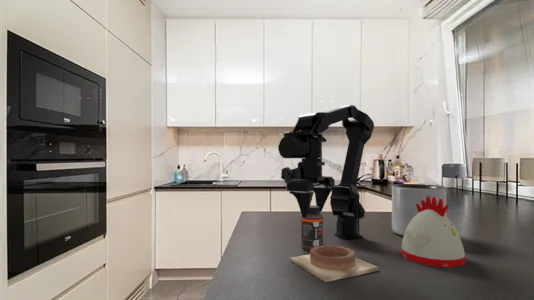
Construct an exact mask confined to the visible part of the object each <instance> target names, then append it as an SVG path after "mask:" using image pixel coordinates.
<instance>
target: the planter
mask: <svg viewBox="0 0 534 300" xmlns="http://www.w3.org/2000/svg"><path fill="white" fill-rule="evenodd" d="M428 196H430V200H431V203H432V197H435V198H436V202H437V206H438V202H439V199H443V208H444V207H445V206H446V205H448V204H447V187H446V186H444V185H436V184H422V183H421V184H419V183H399V184H398V183H397V184H393V185H391V231H393V233H395V234H397V235H399V236H401V237H404V234H405V231H406V229H407V226H408V224H409V223H410V221H411V220H412V219H413V218H414V217H415V216H416V215H417V214H418V213H419V212H418V209H417V207H416V204H419V205H420V207H421V208H422V204H421V200H424V201H425V203H426V198H427V197H428ZM445 216H446V217H447V218H448V210H447V211H446V213H445Z"/></svg>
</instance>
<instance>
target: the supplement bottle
mask: <svg viewBox="0 0 534 300" xmlns="http://www.w3.org/2000/svg"><path fill="white" fill-rule="evenodd" d="M319 211H320V210H319V206H316V205H310V208H309V212H308V215H307V217H306V218H305V217H302V216H301V218H300V219H301V220H300V221H301V229H300V230H301V233H300V234H301V237H300V238H301V242H300V243H301V247H302V248H304V249H305V250H309V251H310V249H312V248H313V247H316V246H322V245H324V217H323V214H321V212H319Z"/></svg>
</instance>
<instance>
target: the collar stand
mask: <svg viewBox="0 0 534 300" xmlns="http://www.w3.org/2000/svg"><path fill="white" fill-rule="evenodd" d="M290 262H291V263H293V264H295V265H297V266H298V267H300V268H302V269H303V270H305V271H306V272H308V273H310V274H312V275H313V276H315V277H317V278H318V279H319V280H321V281H323V282H325V283H328V282H333V281H337V280H341V279H347V278H352V277H356V276H360V275H364V274H369V273H374V272H378V271H379V266H376V265H374V264H373V263H372V264H371V263H369V262H367V261H364V260H362V259H361V258H358V257H356V253H355V251H354V249H351V248H348V247H346V246H341V245H331V244H330V245H329V244H328V245H324V244H323V245H322V246H316V247H313V248H312V249H310V250H309V254H305V255H298V256H293V257H292V256H291V257H290Z"/></svg>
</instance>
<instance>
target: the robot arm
mask: <svg viewBox="0 0 534 300" xmlns="http://www.w3.org/2000/svg"><path fill="white" fill-rule="evenodd" d="M339 122H341V125H342V127H343V128H344V129H345V135H346V137H347V140H348V145H347V150H346V154H345V160H344V164H343V169H342V173H341V179H340V182H339V184H338V185H335V184H336V183H335V179H334V177H333V176H325V175H324V176H323V166H326V164H325V163H326V161H323V143H326V142H327V139H326V138H325V137H324V135H322V134H323V133H324V132H325V131H326V130H328V129H329V127H330V126H332V125H333V124H337V123H339ZM374 129H375V124H374V121H373V120H372V118H371V117H370V116H369V114H367V113H366V112H364V111H361V110H360V109H358V108H357V106H356V105H353V104H348V105H342V106H340V107H338V108H335V109H331V110H327V111H323V112H321V111H318V112H313V113H312V112H311V113H306V114H301V115H299V116H298V119H297V122H296V124H295V125H294V127H293V128H292V131H287V132H284V133H283V137H282V138H281V139H280V141H279V144H278V147H277V148H278V149H277V150H278V154H279V155H280V156H281V157H282V158H283V159H301V161H298V162H297V167H295V168H292V169H291V168H290V167H288V166H287V167H283V168H281V174H280V175H281V176H280V179H282V180H283V181H284V183H285V184H286V185H285V190H286V191H287V192H288V191H289V192H288V193H289V194H290V195H292V196H293V197H295V200H296V201H297V203H298V208H299V211H300V213H301V217H305V218H306V217H307V215H308V212H309V208H310V206H311V203H312V200H313V196H315V206H319V210H320V211H319V213H322V211H323V209H324V206H325V205H326V202H327V200H328V198H329V199H330V200H329V203H330V209H331V212H332V215H333V217H334V216H336V217H337V219H336V222H335V223H336V232H334V235H335V236H337V237H339V238H344V239H346V240H351V239H358V238H363V237H364V235H363V234H360V219H361V220H363V218H365V214H366V210H365V208H364V206H363V205H362V203H361V202H360V197H361V196H360V194H359V193H360V192H359V190H358V188H357V185H358V181H359V180H358V179H359V175H360V168H361V163H362V158H363V154H364V148H365V144H366V143H368V142H369V140H370V139H371V138H372V134H373V133H374V132H373V131H374ZM330 194H331V195H330ZM329 195H330V197H329Z"/></svg>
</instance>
